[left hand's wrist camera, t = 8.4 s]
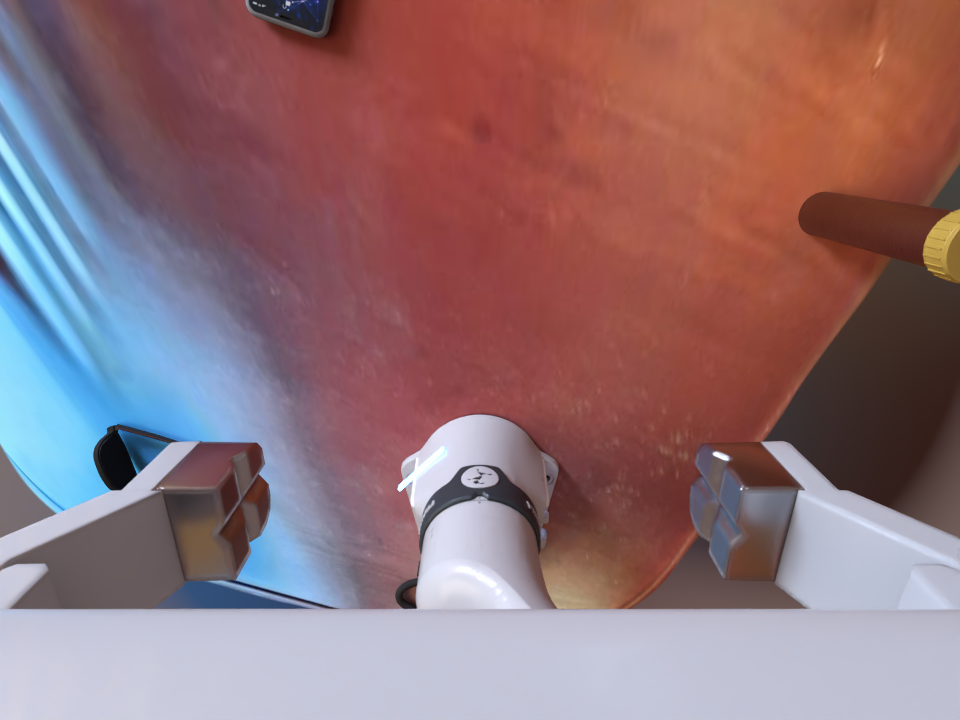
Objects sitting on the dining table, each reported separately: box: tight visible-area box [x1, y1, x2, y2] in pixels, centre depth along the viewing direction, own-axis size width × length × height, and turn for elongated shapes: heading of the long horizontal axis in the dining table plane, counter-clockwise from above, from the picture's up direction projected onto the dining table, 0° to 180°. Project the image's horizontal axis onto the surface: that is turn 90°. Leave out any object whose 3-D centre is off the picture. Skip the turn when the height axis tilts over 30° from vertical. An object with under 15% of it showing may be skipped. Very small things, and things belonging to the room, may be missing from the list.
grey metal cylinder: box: [799, 192, 954, 267], centre depth 46 cm, size 4×4×19 cm
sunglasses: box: [93, 424, 179, 491], centre depth 64 cm, size 17×14×5 cm
